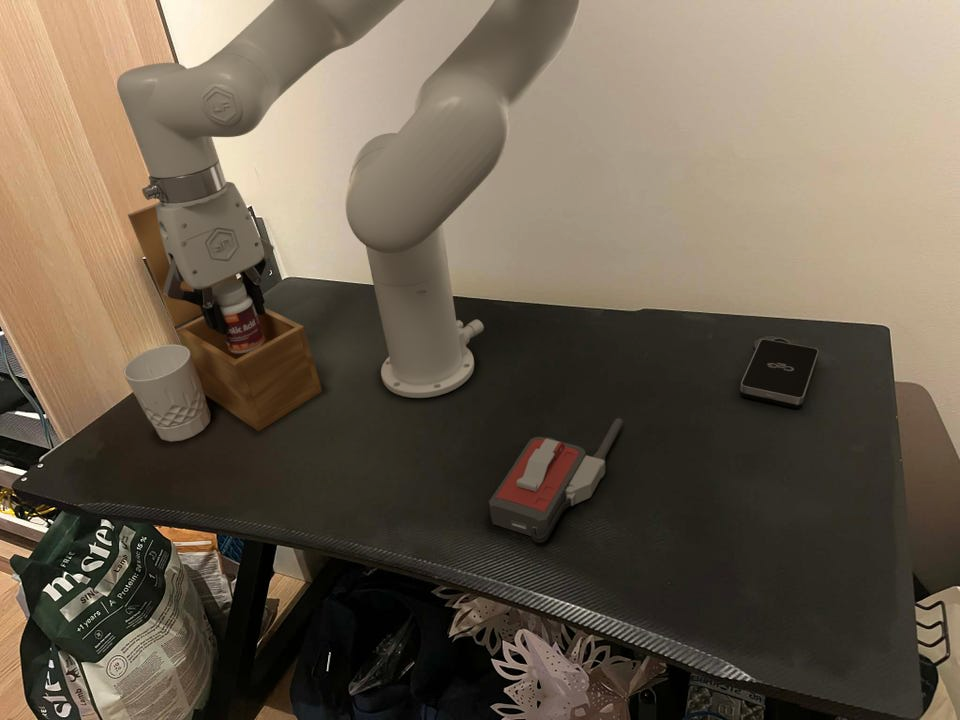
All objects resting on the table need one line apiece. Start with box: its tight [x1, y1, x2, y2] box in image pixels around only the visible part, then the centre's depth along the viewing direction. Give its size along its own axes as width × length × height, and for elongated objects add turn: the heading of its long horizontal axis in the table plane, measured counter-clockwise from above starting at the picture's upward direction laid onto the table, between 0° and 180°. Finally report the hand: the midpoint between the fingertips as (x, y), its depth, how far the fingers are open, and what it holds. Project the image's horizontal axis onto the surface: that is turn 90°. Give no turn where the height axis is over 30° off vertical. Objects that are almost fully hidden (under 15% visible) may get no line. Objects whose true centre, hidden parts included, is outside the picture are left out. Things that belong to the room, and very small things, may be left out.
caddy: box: [175, 306, 323, 432], centre depth 94 cm, size 15×10×10 cm
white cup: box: [123, 343, 212, 443], centre depth 90 cm, size 8×8×10 cm
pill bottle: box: [212, 280, 265, 354], centre depth 90 cm, size 5×5×8 cm
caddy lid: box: [127, 203, 239, 327], centre depth 92 cm, size 15×10×6 cm
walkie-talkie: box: [488, 418, 624, 544], centre depth 75 cm, size 9×4×20 cm
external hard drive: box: [739, 338, 820, 409], centre depth 86 cm, size 7×11×2 cm, turn 150°
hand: (238, 319), depth 90 cm, fingers closed on pill bottle, 4 cm apart
